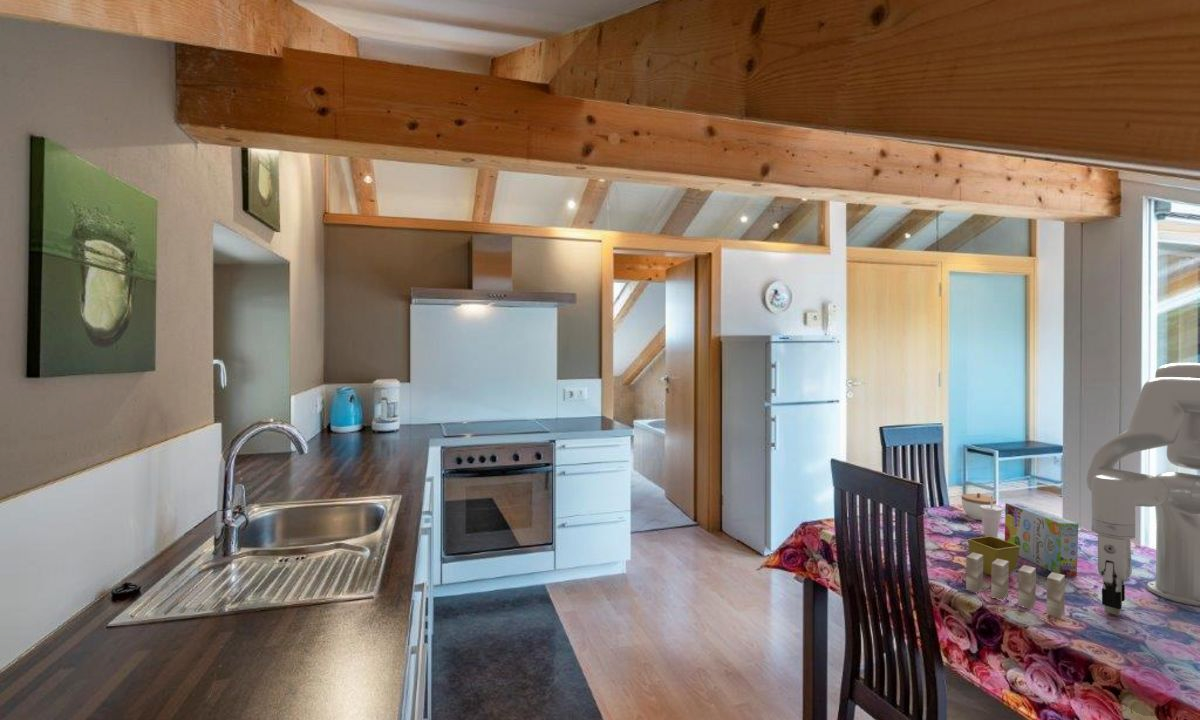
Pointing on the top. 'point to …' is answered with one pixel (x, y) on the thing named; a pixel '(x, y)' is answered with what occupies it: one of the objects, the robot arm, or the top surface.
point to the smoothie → (991, 519)
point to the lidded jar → (975, 504)
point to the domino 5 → (1117, 611)
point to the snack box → (1043, 538)
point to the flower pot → (994, 551)
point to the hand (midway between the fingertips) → (1113, 602)
